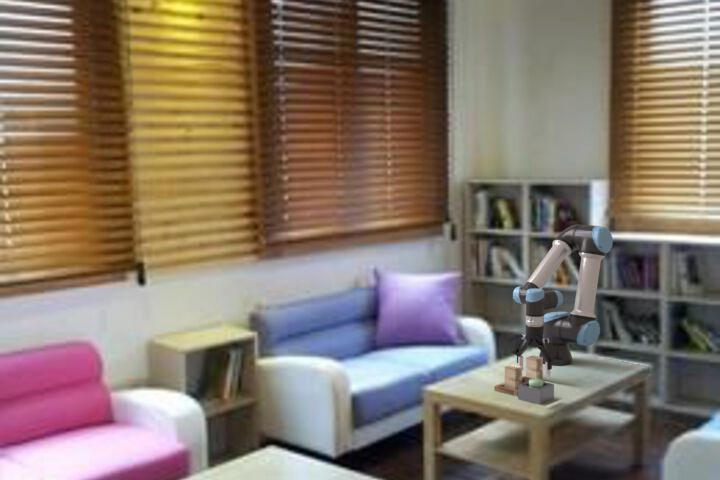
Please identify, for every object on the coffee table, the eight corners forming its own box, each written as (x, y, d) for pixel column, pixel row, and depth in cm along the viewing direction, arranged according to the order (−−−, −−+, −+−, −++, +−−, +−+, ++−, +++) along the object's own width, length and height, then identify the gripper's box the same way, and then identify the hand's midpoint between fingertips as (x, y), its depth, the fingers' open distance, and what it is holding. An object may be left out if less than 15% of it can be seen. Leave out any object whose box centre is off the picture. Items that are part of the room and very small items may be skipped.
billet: (532, 377, 360) (532, 355, 359) (542, 380, 356) (542, 357, 355) (526, 380, 356) (526, 357, 355) (536, 382, 353) (536, 359, 352)
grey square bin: (532, 396, 334) (532, 379, 333) (553, 401, 327) (554, 384, 326) (518, 402, 327) (518, 384, 326) (539, 407, 320) (540, 389, 319)
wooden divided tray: (522, 383, 352) (522, 375, 352) (544, 388, 345) (544, 380, 344) (494, 393, 338) (494, 386, 338) (517, 399, 331) (517, 391, 330)
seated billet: (511, 387, 342) (511, 364, 341) (521, 390, 338) (522, 366, 337) (504, 390, 338) (504, 366, 337) (514, 393, 335) (514, 368, 334)
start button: (533, 385, 330) (533, 377, 330) (546, 387, 326) (546, 380, 326) (526, 388, 326) (526, 380, 326) (538, 391, 322) (538, 383, 322)
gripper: (505, 322, 360) (504, 370, 362) (555, 330, 342) (554, 381, 344) (515, 319, 365) (514, 366, 367) (565, 327, 347) (564, 377, 350)
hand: (533, 373), depth 356 cm, fingers open, 13 cm apart
